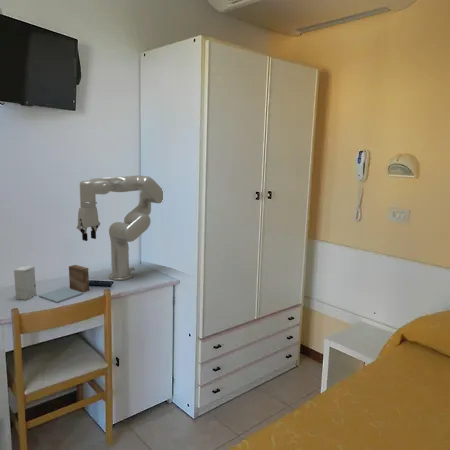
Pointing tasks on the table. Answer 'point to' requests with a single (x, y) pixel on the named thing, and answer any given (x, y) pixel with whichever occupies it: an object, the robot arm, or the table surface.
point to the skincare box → (25, 282)
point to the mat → (60, 295)
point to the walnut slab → (79, 278)
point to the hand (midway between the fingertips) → (89, 239)
